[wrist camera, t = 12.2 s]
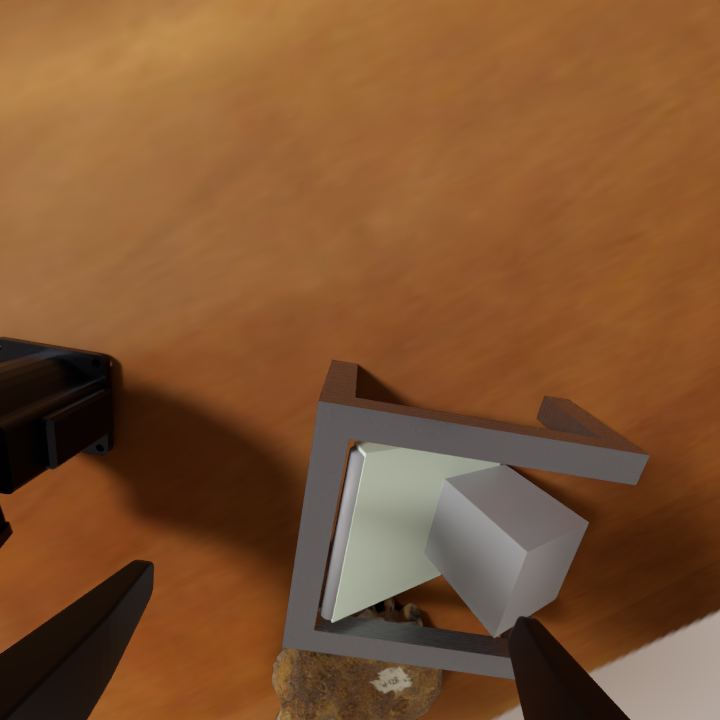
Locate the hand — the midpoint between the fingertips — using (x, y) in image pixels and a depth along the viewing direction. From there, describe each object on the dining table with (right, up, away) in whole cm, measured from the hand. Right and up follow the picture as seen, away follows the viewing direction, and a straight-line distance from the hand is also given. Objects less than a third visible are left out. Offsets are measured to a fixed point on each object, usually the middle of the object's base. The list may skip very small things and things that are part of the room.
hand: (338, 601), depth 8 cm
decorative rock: (0, -17, +19) cm, 26 cm away
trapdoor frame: (+5, -2, +14) cm, 15 cm away
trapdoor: (+4, -3, +11) cm, 12 cm away
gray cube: (+7, -3, +12) cm, 14 cm away
